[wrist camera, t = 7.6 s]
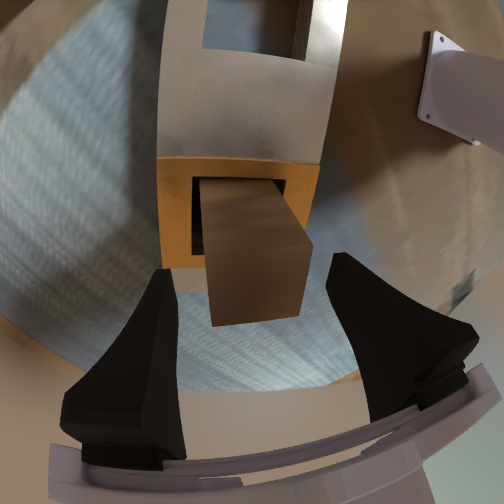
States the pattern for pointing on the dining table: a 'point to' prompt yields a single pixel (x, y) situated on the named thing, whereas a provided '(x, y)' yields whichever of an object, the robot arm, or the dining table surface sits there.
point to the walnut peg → (251, 251)
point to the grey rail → (239, 120)
